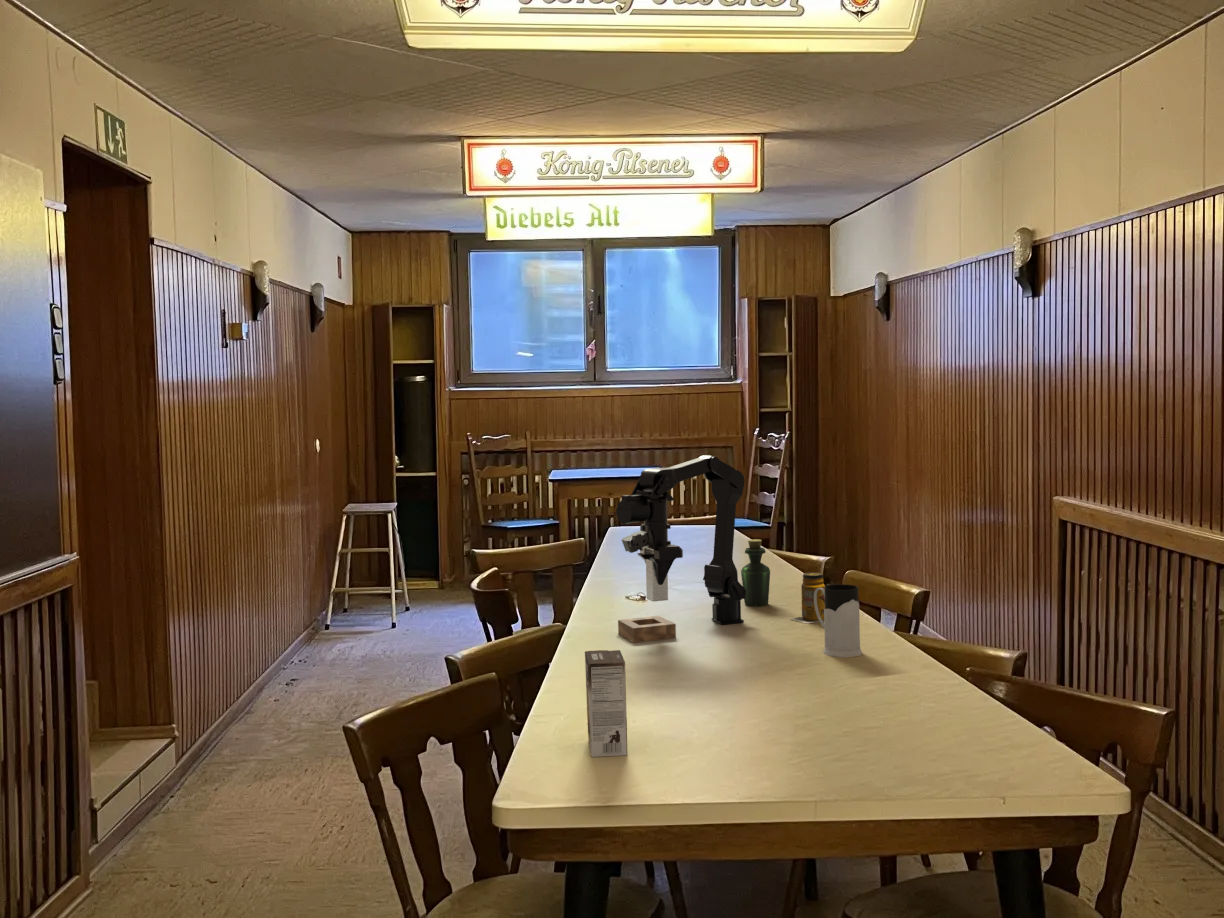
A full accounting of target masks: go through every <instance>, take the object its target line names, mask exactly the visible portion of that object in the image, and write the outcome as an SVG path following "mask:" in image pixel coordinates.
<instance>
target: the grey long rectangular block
mask: <svg viewBox="0 0 1224 918" xmlns="http://www.w3.org/2000/svg"><path fill="white" fill-rule="evenodd" d="M645 572H646V573H645V576H646V577H645V578H646V579H645V580H646V581H645V583H646V584H645V585H646V600H649V601H650V602H653V603H654V602H663V601H669V586H668V583H669V582H668V579H669V578H668V577H669V575H668V574H667V576H666V578H665V581H664V583H663V584H662V585H659V584H658V580H657V574H656V567H655V563H654V562H653V561H652V560H651V559H646V563H645Z"/></svg>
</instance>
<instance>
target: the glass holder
mask: <svg viewBox="0 0 1224 918" xmlns="http://www.w3.org/2000/svg"><path fill="white" fill-rule="evenodd" d="M819 589H820V590H821V591H822V592H823V594H824V598H825V609H824V621H822V619H821V617H820V614H819V610H818V606H817V591H818V590H819ZM814 606H815V611H816V614H817V617H818V619H819V621H820V622H819V623H820V625H821V626H822V628H823V629H824V647H823V651H822V653H823V654H824V655H825V656H829V657H833V658H834V657H835V658H852V657H857V656H858V657H859V656H861V655H863V651H862V649H861V638H860V637H861V631H860V628H861V627H860V625H861V624H860V619H861V618H860V602H859V586H857V585H853V584H852V585H851V584H838V583H837V584H831V585H830V584H829V585H825V590H824V589H823V588H817V589H816V590H815V592H814Z"/></svg>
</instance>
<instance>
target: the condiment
mask: <svg viewBox="0 0 1224 918" xmlns="http://www.w3.org/2000/svg"><path fill="white" fill-rule="evenodd" d="M824 582H825V581H824V574H823V573H821V572H814V571H813V572H804V573H803V575H802V583H801V616H798V617H791V618H789V620H791V621H795V622H798V623H804V624H813V623H820V621H819V619H818V617H817V614H816V611H815V606H814V592H815V590H816V589H817V588H823V589H824V590H825V586H826V585H825V583H824ZM817 606H818V610H819V614H820V617H821V619H822V621H823V622H824V609H825V598H824V594H823V592H822V591H821V590H820V589H819V590H818V591H817Z"/></svg>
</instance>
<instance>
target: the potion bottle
mask: <svg viewBox="0 0 1224 918" xmlns="http://www.w3.org/2000/svg"><path fill="white" fill-rule="evenodd" d="M762 541H763V540H762V539H756V538H755V539H747V543H748V547H747V548H745V549H744V554H746V555H748V559H749V563H747V564H745V565H744V566H743V567H742V568H741V570H740V572H741V573H740V574H741V585H742V586H743V587H744V589H745V590H746V595H745V599H743V601H744V602H743V603H744V604H745V605H746V606H749V607H765V606H767V605H768V604H769V599H770V596H769V595H770V580H771V569H770V568H769V566H767V565H765V564H764V563H762V562H761V560H762V558H763V557H762V556H763V554H765V553H767V552H766V549H765V548H764V547H761V546H762Z"/></svg>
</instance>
